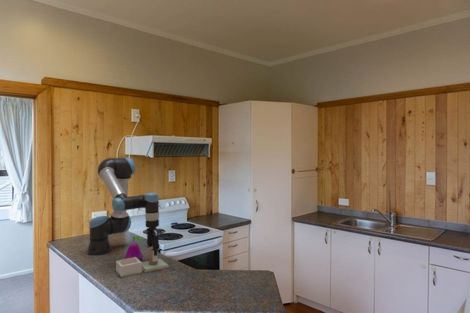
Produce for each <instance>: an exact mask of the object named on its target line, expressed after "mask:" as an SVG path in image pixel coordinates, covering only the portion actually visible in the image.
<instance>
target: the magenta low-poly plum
mask: <svg viewBox="0 0 470 313" xmlns="http://www.w3.org/2000/svg"><path fill="white" fill-rule="evenodd" d="M136 241H144V238H141V237H140V236H136V237H135V236H133V241H132V242H131V243H130V244H129V246H128V248H127V251H126V253H125V256H124V258H123V259H128V258H133V257H136V258H137V259H138V260H140V261H141V260H142V258H143V254H142V251H141V249H140V246H139V244H138V243H137V242H136Z"/></svg>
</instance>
